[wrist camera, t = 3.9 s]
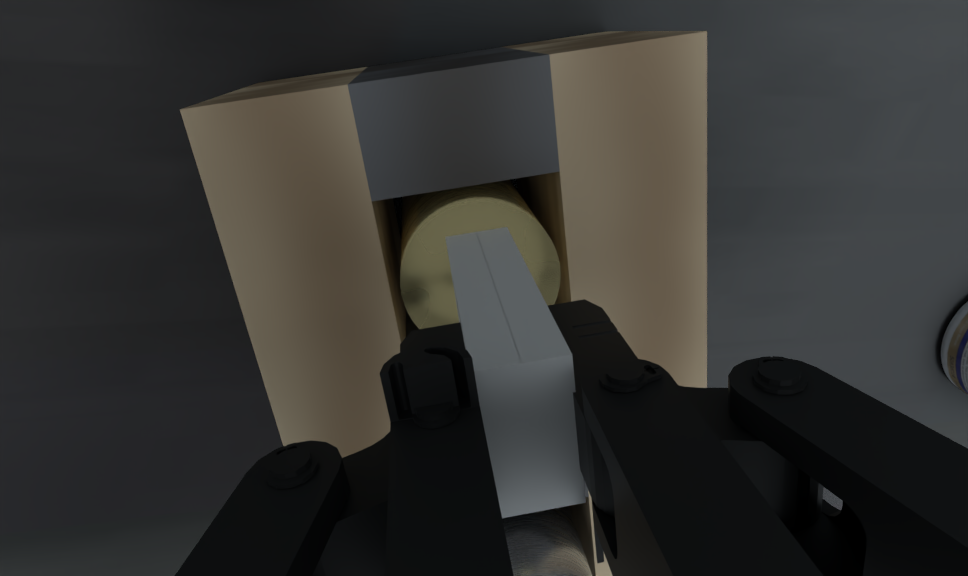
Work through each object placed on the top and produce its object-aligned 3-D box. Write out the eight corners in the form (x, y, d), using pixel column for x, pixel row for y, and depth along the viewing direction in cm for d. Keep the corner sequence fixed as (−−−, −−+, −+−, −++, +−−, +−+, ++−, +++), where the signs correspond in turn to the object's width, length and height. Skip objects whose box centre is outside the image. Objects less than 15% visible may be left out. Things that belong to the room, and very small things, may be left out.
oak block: (375, 539, 29) (365, 711, 22) (257, 83, 21) (179, 109, 14) (632, 490, 30) (706, 642, 22) (606, 31, 22) (707, 30, 15)
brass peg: (412, 262, 24) (415, 365, 17) (392, 155, 22) (385, 216, 15) (517, 245, 24) (567, 339, 17) (505, 138, 23) (553, 190, 15)
